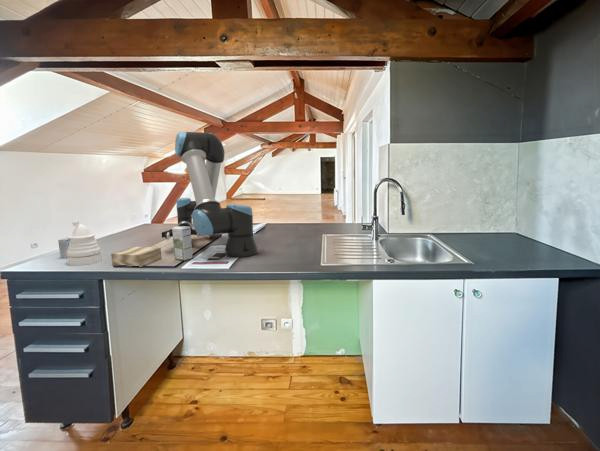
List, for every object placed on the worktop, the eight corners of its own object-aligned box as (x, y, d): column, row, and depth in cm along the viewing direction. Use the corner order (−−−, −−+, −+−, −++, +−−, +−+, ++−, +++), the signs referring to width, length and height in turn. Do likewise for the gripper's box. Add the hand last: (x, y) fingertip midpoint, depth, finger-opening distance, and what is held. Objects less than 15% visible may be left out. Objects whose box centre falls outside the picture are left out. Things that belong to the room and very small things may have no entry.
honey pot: (66, 267, 150) (61, 224, 147) (69, 260, 161) (64, 220, 158) (101, 262, 155) (96, 222, 152) (102, 256, 167) (97, 218, 164)
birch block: (161, 258, 161) (160, 247, 160) (140, 267, 148) (139, 255, 147) (135, 257, 164) (134, 246, 164) (112, 265, 151) (111, 253, 150)
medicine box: (68, 258, 164) (66, 239, 163) (60, 258, 165) (57, 239, 164) (81, 254, 172) (79, 236, 170) (73, 253, 173) (71, 236, 171)
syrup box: (193, 257, 162) (191, 226, 160) (183, 260, 157) (181, 228, 154) (183, 256, 164) (181, 225, 162) (174, 259, 159) (171, 227, 157)
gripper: (209, 234, 192) (210, 242, 172) (159, 237, 185) (155, 246, 165) (208, 221, 191) (209, 227, 170) (158, 223, 184) (153, 230, 164)
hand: (182, 236), depth 168 cm, fingers open, 13 cm apart
